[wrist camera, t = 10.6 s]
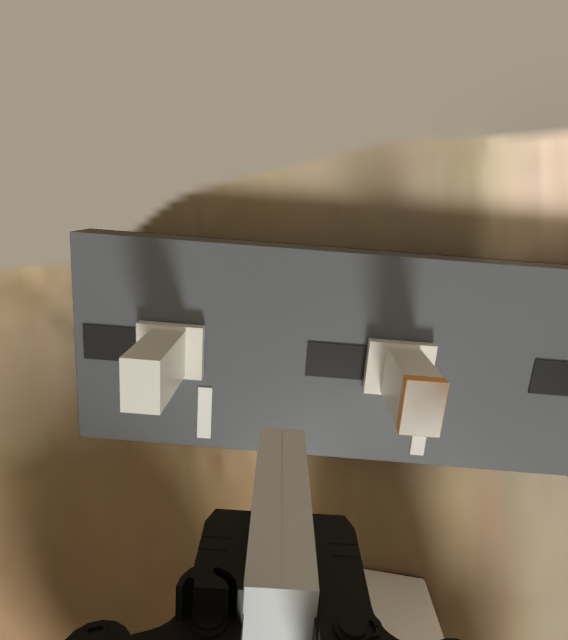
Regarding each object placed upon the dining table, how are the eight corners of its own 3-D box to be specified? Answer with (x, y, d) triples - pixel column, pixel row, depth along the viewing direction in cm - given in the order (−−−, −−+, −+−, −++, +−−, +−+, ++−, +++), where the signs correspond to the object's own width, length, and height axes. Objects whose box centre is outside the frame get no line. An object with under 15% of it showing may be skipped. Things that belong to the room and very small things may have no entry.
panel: (97, 417, 30) (78, 437, 27) (90, 228, 26) (69, 231, 24) (606, 457, 29) (635, 481, 27) (659, 271, 26) (697, 279, 24)
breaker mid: (362, 389, 26) (378, 436, 20) (368, 337, 25) (387, 374, 20) (426, 393, 26) (458, 443, 20) (434, 343, 25) (470, 381, 20)
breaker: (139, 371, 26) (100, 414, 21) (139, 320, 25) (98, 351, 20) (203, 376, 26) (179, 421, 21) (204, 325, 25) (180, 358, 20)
